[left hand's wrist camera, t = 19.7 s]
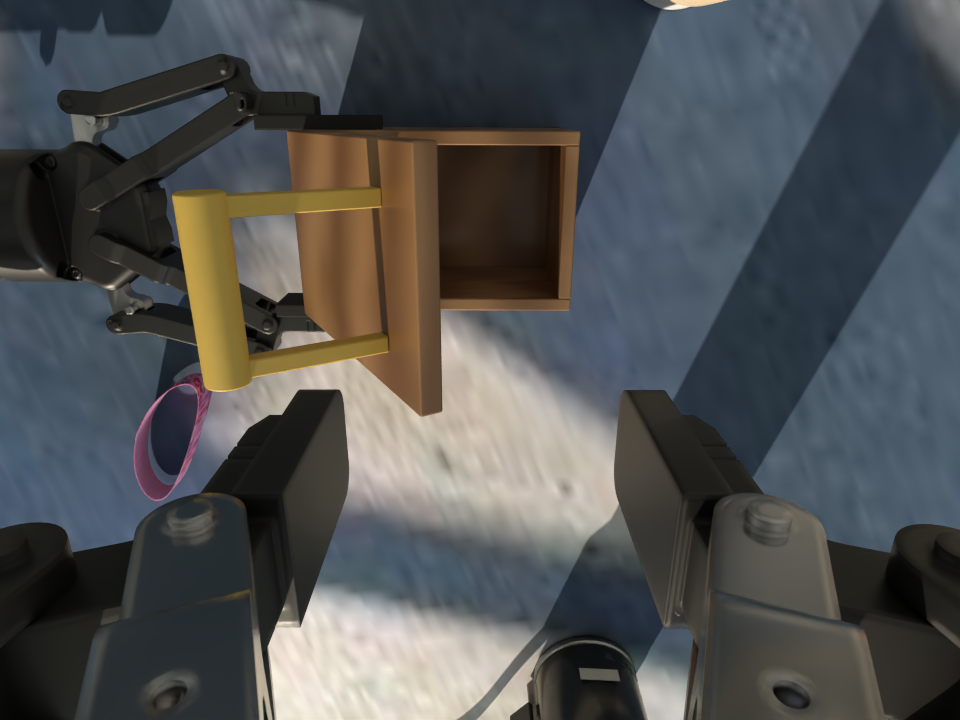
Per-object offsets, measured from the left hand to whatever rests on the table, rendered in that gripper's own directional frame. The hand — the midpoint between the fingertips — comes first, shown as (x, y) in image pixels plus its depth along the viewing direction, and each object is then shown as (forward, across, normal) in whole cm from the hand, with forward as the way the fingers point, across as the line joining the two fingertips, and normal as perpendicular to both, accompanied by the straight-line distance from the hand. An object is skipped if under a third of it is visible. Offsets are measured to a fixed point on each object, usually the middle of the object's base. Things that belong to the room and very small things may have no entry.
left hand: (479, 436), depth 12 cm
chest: (+34, +2, 0) cm, 34 cm away
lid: (+18, +5, 0) cm, 18 cm away
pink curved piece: (+34, +24, +17) cm, 45 cm away
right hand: (+27, +6, 0) cm, 27 cm away
